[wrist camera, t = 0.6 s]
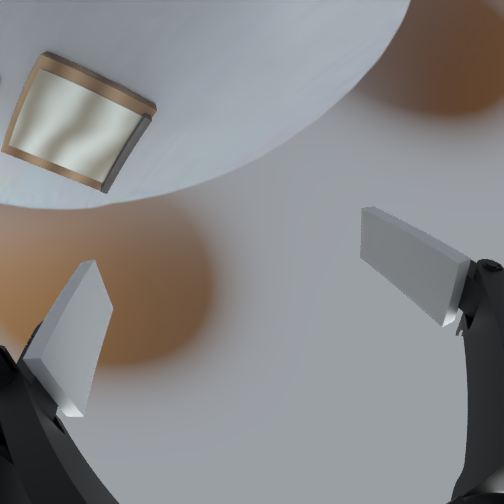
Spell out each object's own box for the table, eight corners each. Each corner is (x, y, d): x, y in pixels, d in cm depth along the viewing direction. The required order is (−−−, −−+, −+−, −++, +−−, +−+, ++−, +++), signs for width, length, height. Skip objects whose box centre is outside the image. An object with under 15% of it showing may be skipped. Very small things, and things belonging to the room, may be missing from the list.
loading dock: (8, 142, 26) (-4, 157, 23) (47, 51, 21) (35, 56, 18) (106, 182, 39) (105, 199, 36) (155, 104, 33) (157, 114, 30)
